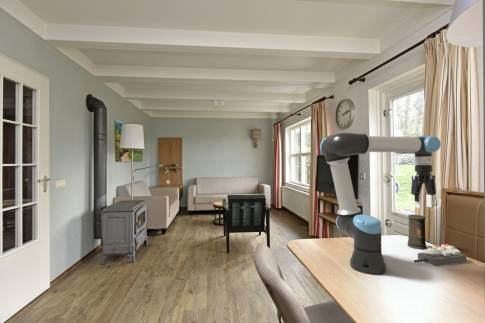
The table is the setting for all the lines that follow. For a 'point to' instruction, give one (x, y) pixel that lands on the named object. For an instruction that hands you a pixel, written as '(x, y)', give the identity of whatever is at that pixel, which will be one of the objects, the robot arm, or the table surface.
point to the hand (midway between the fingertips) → (423, 207)
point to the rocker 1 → (432, 251)
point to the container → (416, 232)
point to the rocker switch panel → (440, 259)
